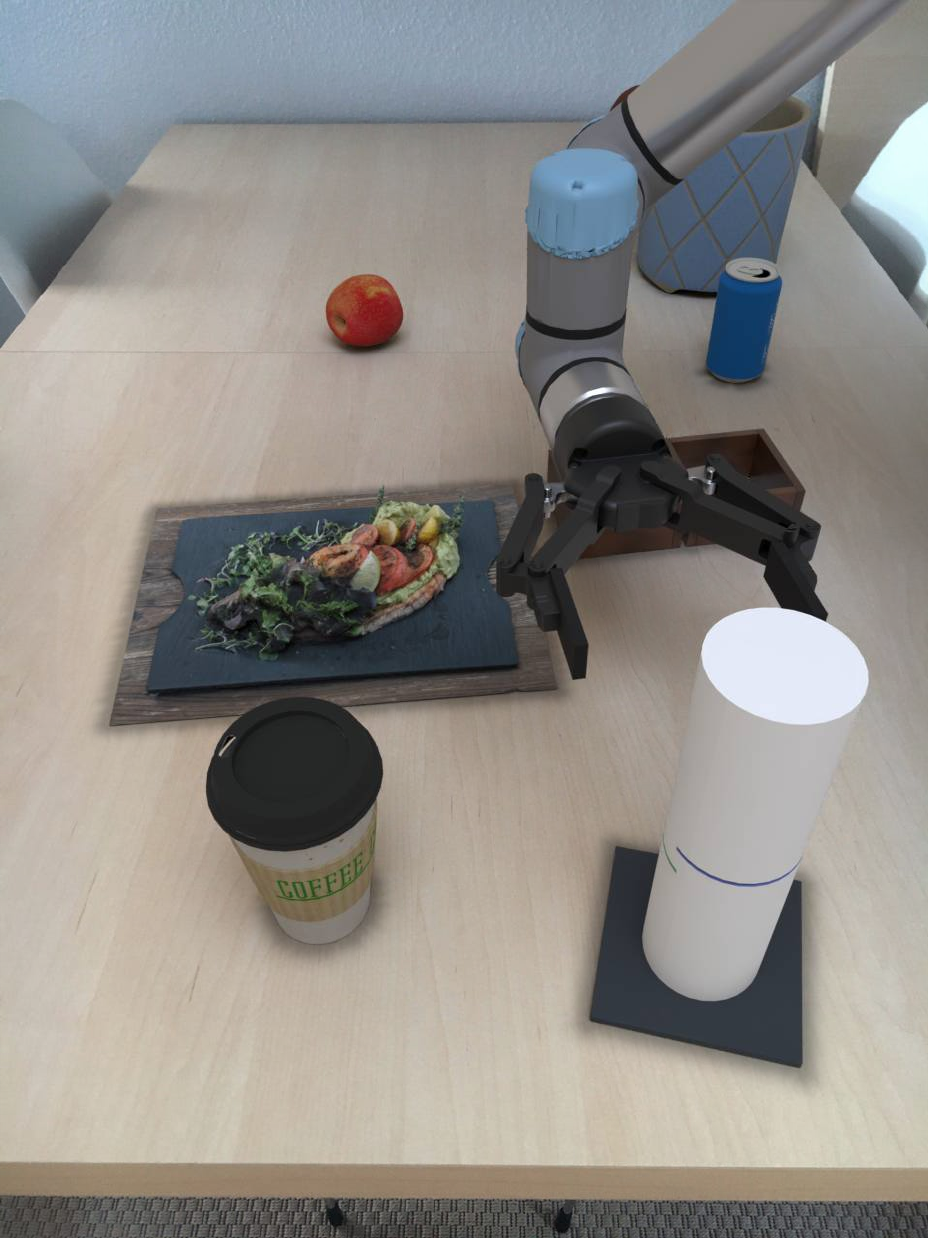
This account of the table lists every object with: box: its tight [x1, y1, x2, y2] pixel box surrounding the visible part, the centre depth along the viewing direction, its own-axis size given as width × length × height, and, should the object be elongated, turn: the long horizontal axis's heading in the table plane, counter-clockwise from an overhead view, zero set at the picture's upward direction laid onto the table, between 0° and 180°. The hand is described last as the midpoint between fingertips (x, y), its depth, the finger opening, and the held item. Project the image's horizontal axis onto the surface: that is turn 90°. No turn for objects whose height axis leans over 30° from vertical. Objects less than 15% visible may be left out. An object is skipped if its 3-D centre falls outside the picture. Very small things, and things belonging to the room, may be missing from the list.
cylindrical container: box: [642, 607, 870, 1001], centre depth 52 cm, size 7×7×25 cm
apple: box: [325, 273, 404, 347], centre depth 116 cm, size 8×8×8 cm
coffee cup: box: [205, 697, 384, 945], centre depth 59 cm, size 10×10×15 cm
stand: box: [546, 428, 807, 559], centre depth 91 cm, size 21×10×5 cm, turn 98°
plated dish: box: [108, 483, 558, 726], centre depth 84 cm, size 35×28×7 cm
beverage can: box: [705, 258, 783, 384], centre depth 108 cm, size 6×6×12 cm
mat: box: [589, 845, 804, 1069], centre depth 61 cm, size 12×12×1 cm
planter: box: [636, 95, 812, 294], centre depth 124 cm, size 19×19×20 cm
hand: (700, 647), depth 55 cm, fingers open, 13 cm apart
